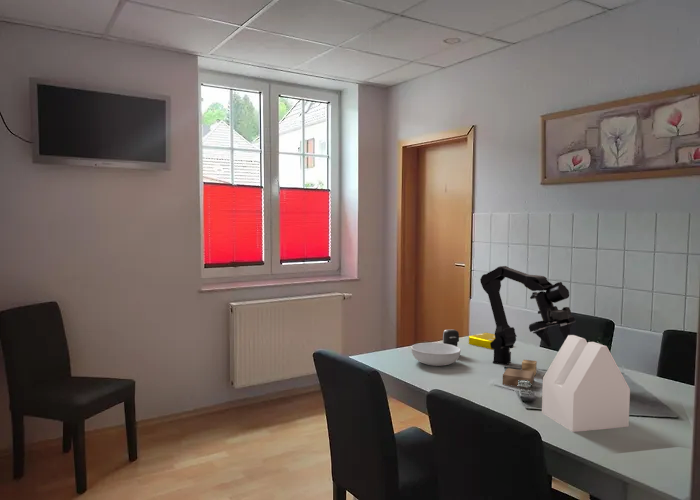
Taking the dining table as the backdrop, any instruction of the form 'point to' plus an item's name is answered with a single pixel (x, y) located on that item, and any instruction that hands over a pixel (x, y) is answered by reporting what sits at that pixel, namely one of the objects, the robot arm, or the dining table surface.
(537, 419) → the dining table surface
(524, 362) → the oak cube
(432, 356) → the serving bowl
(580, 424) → the white slotted house block
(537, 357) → the dining table surface
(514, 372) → the walnut base
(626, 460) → the dining table surface
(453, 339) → the battery charger
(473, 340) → the element tile
